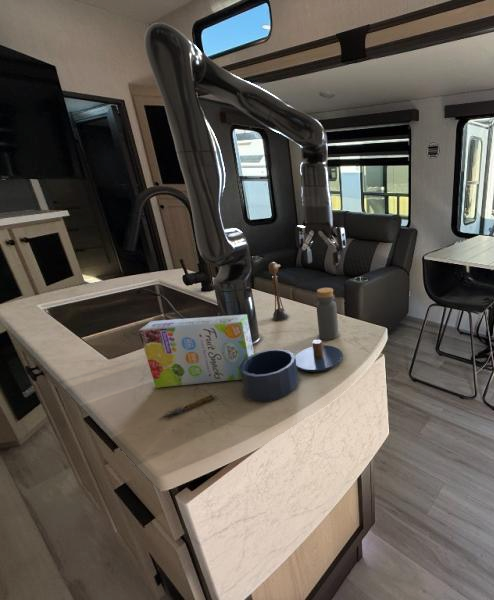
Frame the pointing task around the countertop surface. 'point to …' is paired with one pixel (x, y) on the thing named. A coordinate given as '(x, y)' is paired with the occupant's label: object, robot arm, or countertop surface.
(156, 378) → the snack box
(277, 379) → the blue round container
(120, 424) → the countertop surface
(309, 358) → the lid
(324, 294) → the bottle
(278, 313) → the wooden tabletop sculpture
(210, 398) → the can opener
